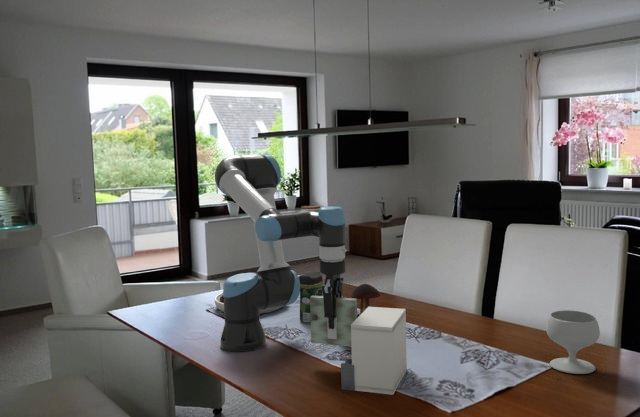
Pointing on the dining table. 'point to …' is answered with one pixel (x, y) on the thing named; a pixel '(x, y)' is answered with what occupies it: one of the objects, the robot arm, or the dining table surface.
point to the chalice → (572, 338)
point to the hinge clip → (347, 375)
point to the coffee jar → (309, 293)
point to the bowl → (220, 304)
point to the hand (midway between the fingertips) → (334, 336)
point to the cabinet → (379, 349)
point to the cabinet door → (345, 318)
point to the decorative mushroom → (365, 295)
